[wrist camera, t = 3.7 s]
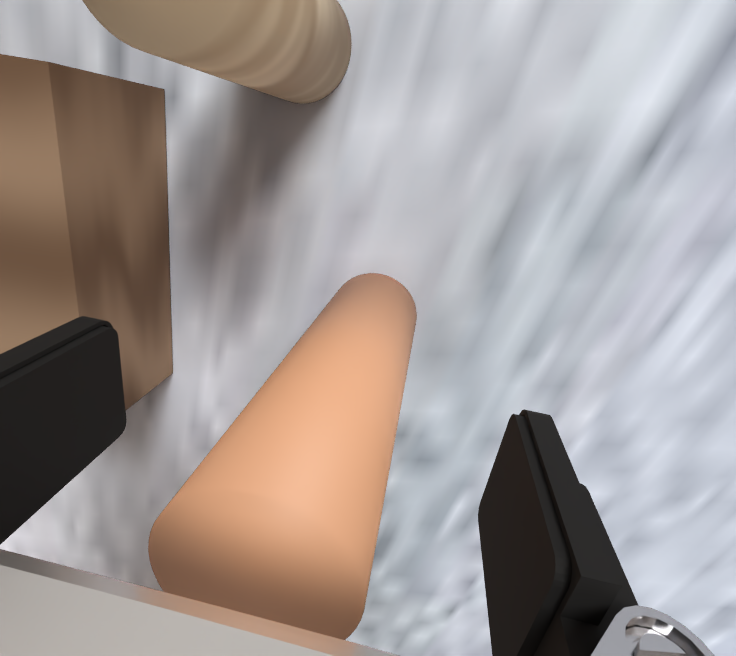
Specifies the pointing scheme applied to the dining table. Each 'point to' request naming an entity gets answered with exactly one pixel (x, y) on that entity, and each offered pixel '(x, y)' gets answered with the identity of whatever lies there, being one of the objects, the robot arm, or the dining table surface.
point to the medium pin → (241, 40)
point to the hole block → (85, 212)
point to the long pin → (299, 474)
